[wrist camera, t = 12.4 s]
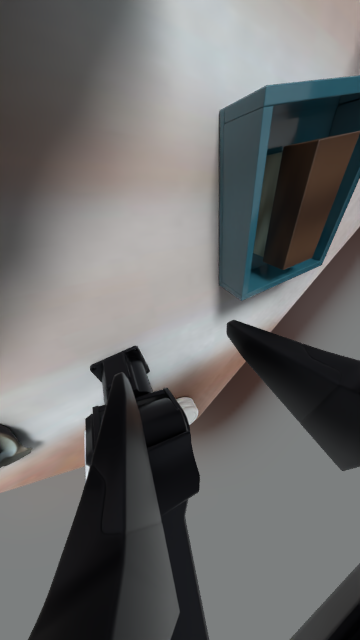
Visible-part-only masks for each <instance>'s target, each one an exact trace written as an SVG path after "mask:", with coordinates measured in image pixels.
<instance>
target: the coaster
mask: <svg viewBox="0 0 360 640" xmlns="http://www.w3.org/2000/svg"><path fill="white" fill-rule="evenodd" d="M176 400H177V402H178V403H179V405H180V406H181V407H182V409H183V410H184V412H185V414H186V416H187V419H188V423H189V425H190V424H191V423H192V422H194V420H195V419H196V418H197V416H198V409H197V408H196V405H195V404H194V401H193V400H192V399H191V398H189V397H182V398H178V399H176Z"/></svg>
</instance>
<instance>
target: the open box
mask: <svg viewBox="0 0 360 640" xmlns="http://www.w3.org/2000/svg"><path fill="white" fill-rule="evenodd" d="M356 131H360V75H357V76H348V77H339V78H329V79H320V80H311V81H302V82H293V83H283V84H274V85H266V86H264V87H262V88H260V89H259V90H257V91H255V92H253V93H251V94H249V95H247V96H246V97H244V98H242V99H240V100H238V101H236V102H235V103H233V104H231V105H229V106H227V107H225V108H223V109H221V110H220V193H219V285H220V286H221V287H223V288H224V289H225V290H227V291H228V292H230V293H231V294H232V295H234V296H235V297H237V298H238V299H239V300H241V301H243V300H245V299H247V298H249V297H252V296H254V295H256V294H258V293H261V292H263V291H265V290H267V289H269V288H272V287H274V286H276V285H278V284H281V283H283V282H285V281H287V280H289V279H292V278H294V277H296V276H298V275H301V274H303V273H305V272H307V271H309V270H312V269H314V268H316V267H318V266H321V265H322V263H323V261H324V259H325V256H326V254H327V252H328V249H329V247H330V245H331V243H332V240H333V238H334V236H335V233H336V231H337V229H338V226H339V224H340V222H341V220H342V217H343V215H344V213H345V210H346V208H347V206H348V203H349V201H350V199H351V197H352V194H353V192H354V190H355V187H356V185H357V183H358V180H359V178H360V134H359V137H358V139H357V142H356V145H355V147H354V150H353V152H352V155H351V158H350V160H349V163H348V166H347V168H346V171H345V173H344V176H343V179H342V181H341V184H340V186H339V189H338V192H337V194H336V197H335V199H334V202H333V205H332V207H331V210H330V212H329V215H328V218H327V220H326V223H325V226H324V228H323V231H322V233H321V236H320V239H319V241H318V244H317V246H316V249H315V252H314V254H313V257H312V258H310V259H308V260H306V261H303V262H301V263H299V264H296V265H294V266H292V267H289V268H287V269H285V270H281V269H279V268H277V267H274V266H272V265H269V264H267V263H265V262H263V257H262V256H260V255H257V254H255V253H253V251H254V244H255V237H256V230H257V223H258V215H259V208H260V201H261V194H262V187H263V180H264V172H265V165H266V158H267V155H271V154H276V153H280V152H283V147H284V146H288V145H292V144H297V143H302V142H306V141H311V140H316V139H320V138H325V137H330V136H335V135H340V134H345V133H350V132H356Z"/></svg>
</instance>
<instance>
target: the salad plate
mask: <svg viewBox="0 0 360 640" xmlns="http://www.w3.org/2000/svg"><path fill="white" fill-rule="evenodd" d="M32 449H33V448H26V447H23V446H22V445H21V444H20V443H19V441H18V439H17V438H16V437H15V436H14V435H13V433H12V432H11V431H10V430H9V429H8V428H7V427H5V426H3V425H1V424H0V468H1V467H3V466H7V465H9V464H11V463H13V462H15V461H17V460H19V459H20V458H22V457H24V456H26V455H28V454H29V453H30V452H31V450H32Z"/></svg>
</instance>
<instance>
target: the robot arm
mask: <svg viewBox="0 0 360 640" xmlns="http://www.w3.org/2000/svg"><path fill="white" fill-rule="evenodd" d="M226 332H227V335H228V337H229V338H230V340H231V341H232V343H233V344H234V346H235V347H236V348H237V350H238V351H239V353H240V354H241V356H242V357H243V358H244V359H245V360H246V362H247V363H248V364H249V365H250V366H251V367H252V368H253V370H254V371H255V372H256V373H257V374H258V375H259V376H260V378H261V379H262V380H263V381H264V382H265V383H266V385H267V386H268V387H269V388H270V389H271V390H272V391H273V393H274V394H275V395H276V396H277V397H278V398H279V399H280V401H281V402H282V403H283V404H284V405H285V406H286V407H287V409H288V410H289V411H290V412H291V413H292V414H293V415H294V417H295V418H296V419H297V420H298V421H299V422H300V424H301V425H302V426H303V427H304V428H305V429H306V431H307V432H308V433H309V434H310V435H311V436H312V437H313V439H314V440H315V441H316V442H317V443H318V444H319V445H320V447H321V448H322V449H323V450H324V451H325V452H326V453H327V455H328V456H329V457H330V458H331V459H332V460H333V462H334V463H335V464H336V465H337V466H338V467H339V468H340V469H341V470H342V471H345V470H349V469H353V468H356V467H360V361H359V360H355V359H352V358H348V357H344V356H340V355H337V354H334V353H330V352H326V351H323V350H320V349H317V348H314V347H311V346H308V345H305V344H302V343H299V342H297V341H294V340H291V339H288V338H285V337H282V336H279V335H276V334H273V333H271V332H268V331H265V330H262V329H259V328H256V327H253V326H250V325H247V324H245V323H242V322H239V321H236V320H232V321H230V322H228V323H227V331H226ZM135 349H136V350H135ZM90 371H91V372H92V373H93V374H94V375H95V376H96V377H97V378H98V379H99V380H100V381H101V382H102V385H103V393H104V402H105V405H102V406H99V407H98V406H95V407H93V414H91V415H90V416H89V417H87V418H86V465H87V466H89V467H90V468H89V472H88V476H87V479H86V483H85V486H84V490H83V494H82V497H81V500H80V503H79V506H78V509H77V512H76V515H75V518H74V521H73V524H72V527H71V530H70V533H69V536H68V538H67V541H66V544H65V547H64V550H63V553H62V556H61V559H60V562H59V564H58V567H57V570H56V573H55V576H54V579H53V582H52V584H51V587H50V590H49V593H48V596H47V598H46V601H45V603H44V606H43V608H42V610H41V613H40V615H39V618H38V620H37V622H36V624H35V626H34V628H33V630H32V632H31V635H30V637H29V639H28V640H209V637H208V632H207V626H206V621H205V617H204V611H203V606H202V601H201V596H200V591H199V586H198V581H197V576H196V571H195V566H194V561H193V556H192V551H191V545H190V540H189V535H188V530H187V525H186V519H185V513H186V508H187V503H188V499H189V498H190V497H192V496H193V495H195V494H196V493H198V492H199V482H200V477H199V476H200V475H199V472H198V468H197V465H196V462H195V458H194V454H193V450H192V445H191V434H190V427H189V423H188V419H187V416H186V414H185V412H184V410H183V409H182V407H181V406H180V405H179V403H178V402H177V400H176V399H175V398H174V396H173V395H172V393H171V392H170V391H169V389H168V388H164V389H163V390H160V391H156V392H153V391H152V389H151V386H150V383H149V380H148V377H147V373H149V372H150V370H149V368H148V366H147V364H146V362H145V360H144V358H143V356H142V354H141V352H140V350H139V348H138V347H137V346H133V347H131V348H129V349H126V350H124V351H122V352H120V353H117V354H115V355H113V356H111V357H108V358H106V359H104V360H102V361H99V362H97V363H95V364H93V365H91V366H90ZM290 640H360V564H359V565H358V566H357V567H356V568H355V569H354V570H353V571H352V572H351V573H350V574H349V575H348V577H347V578H346V579H345V580H344V581H343V582H342V583H341V584H340V585H339V587H337V589H336V590H335V591H334V592H333V593H332V594H331V595H330V596H329V597H328V598H327V599H326V601H325V602H324V603H323V604H322V605H321V606H320V607H319V608H318V609H317V610H316V612H315V613H314V614H313V615H312V616H311V617H310V618H309V619H308V620H307V621H306V622H305V623H304V625H303V626H302V627H301V628H300V629H299V630H298V631H297V632H296V633H295V634H294V635H293V637H292V638H291V639H290Z"/></svg>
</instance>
